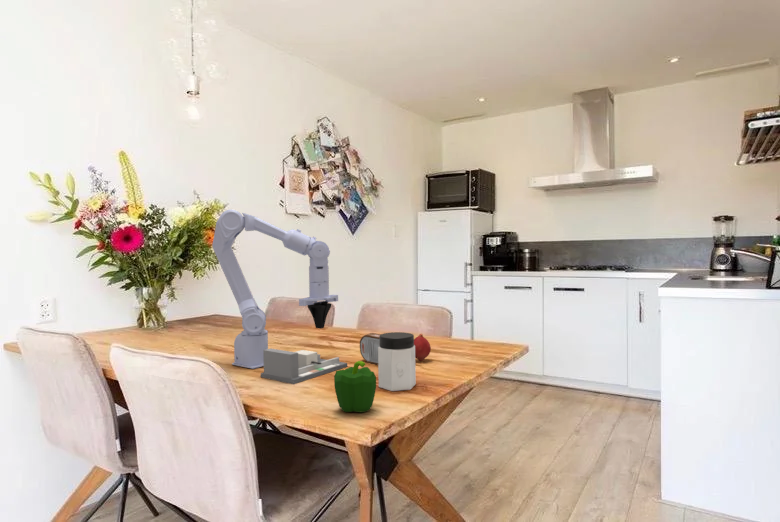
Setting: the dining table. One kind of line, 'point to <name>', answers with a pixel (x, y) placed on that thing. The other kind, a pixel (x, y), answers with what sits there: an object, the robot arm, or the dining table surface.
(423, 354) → the onion
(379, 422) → the dining table surface
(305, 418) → the dining table surface
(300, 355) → the slider
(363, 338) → the tin
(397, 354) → the jar
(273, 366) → the gauge rail
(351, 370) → the bell pepper
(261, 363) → the robot arm
